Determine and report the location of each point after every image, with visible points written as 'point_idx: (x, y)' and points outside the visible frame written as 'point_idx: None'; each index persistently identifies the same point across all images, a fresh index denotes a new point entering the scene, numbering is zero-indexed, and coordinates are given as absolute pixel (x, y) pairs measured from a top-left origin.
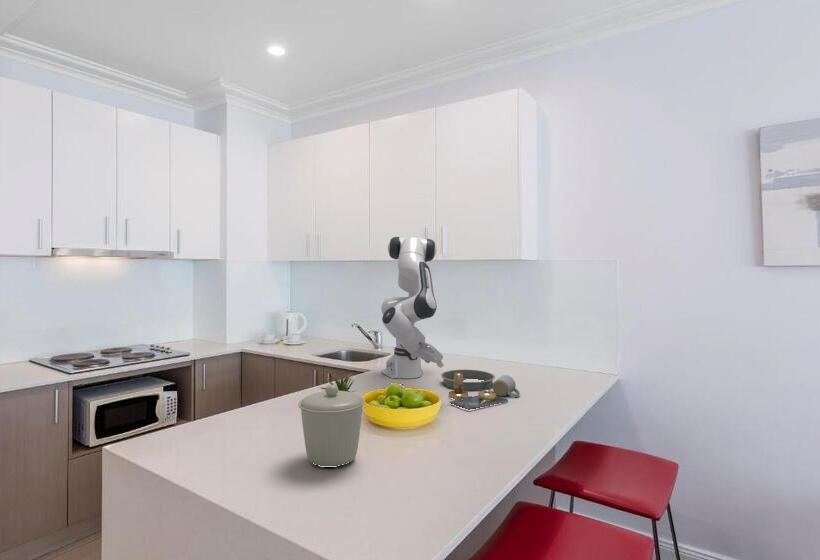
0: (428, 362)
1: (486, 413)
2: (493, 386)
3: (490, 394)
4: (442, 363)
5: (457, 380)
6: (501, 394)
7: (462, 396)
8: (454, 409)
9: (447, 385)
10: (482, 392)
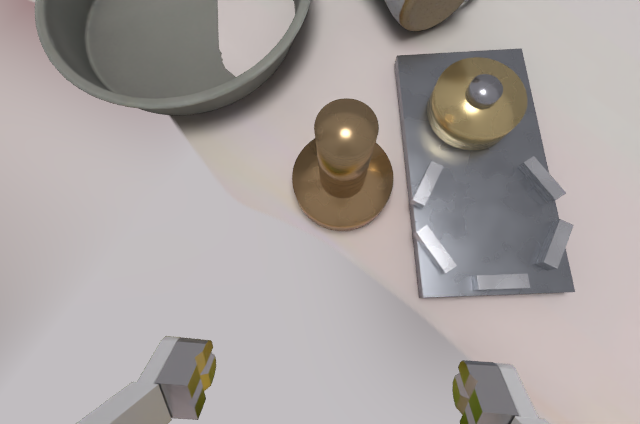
0: (211, 372)
1: (617, 235)
2: (411, 9)
3: (517, 103)
4: (523, 388)
5: (363, 167)
6: (438, 21)
7: (390, 190)
8: (498, 325)
9: (161, 112)
10: (466, 111)
